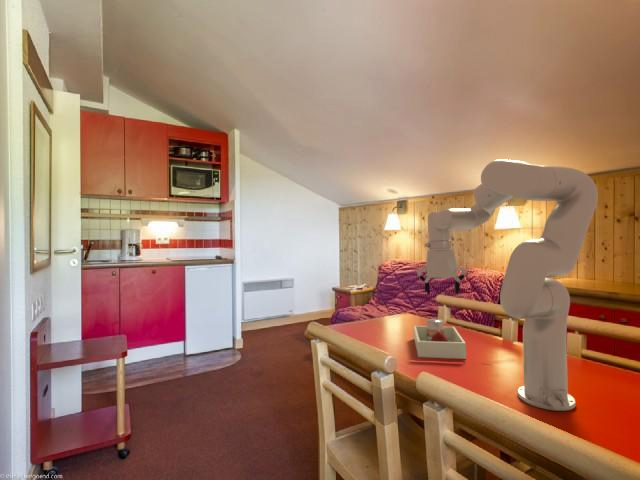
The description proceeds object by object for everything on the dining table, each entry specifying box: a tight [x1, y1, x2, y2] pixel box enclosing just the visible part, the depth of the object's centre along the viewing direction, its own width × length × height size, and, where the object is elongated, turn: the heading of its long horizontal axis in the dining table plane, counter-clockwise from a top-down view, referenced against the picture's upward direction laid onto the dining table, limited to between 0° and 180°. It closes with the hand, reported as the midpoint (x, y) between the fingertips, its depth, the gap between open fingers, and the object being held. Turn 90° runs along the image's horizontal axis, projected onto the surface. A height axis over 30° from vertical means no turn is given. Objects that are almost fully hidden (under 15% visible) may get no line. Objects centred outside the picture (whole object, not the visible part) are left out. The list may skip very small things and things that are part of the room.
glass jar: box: [426, 318, 445, 341], centre depth 137 cm, size 6×6×9 cm
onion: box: [431, 330, 448, 342], centre depth 126 cm, size 6×6×8 cm
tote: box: [413, 325, 467, 360], centre depth 131 cm, size 22×16×6 cm
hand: (442, 293), depth 123 cm, fingers open, 9 cm apart
